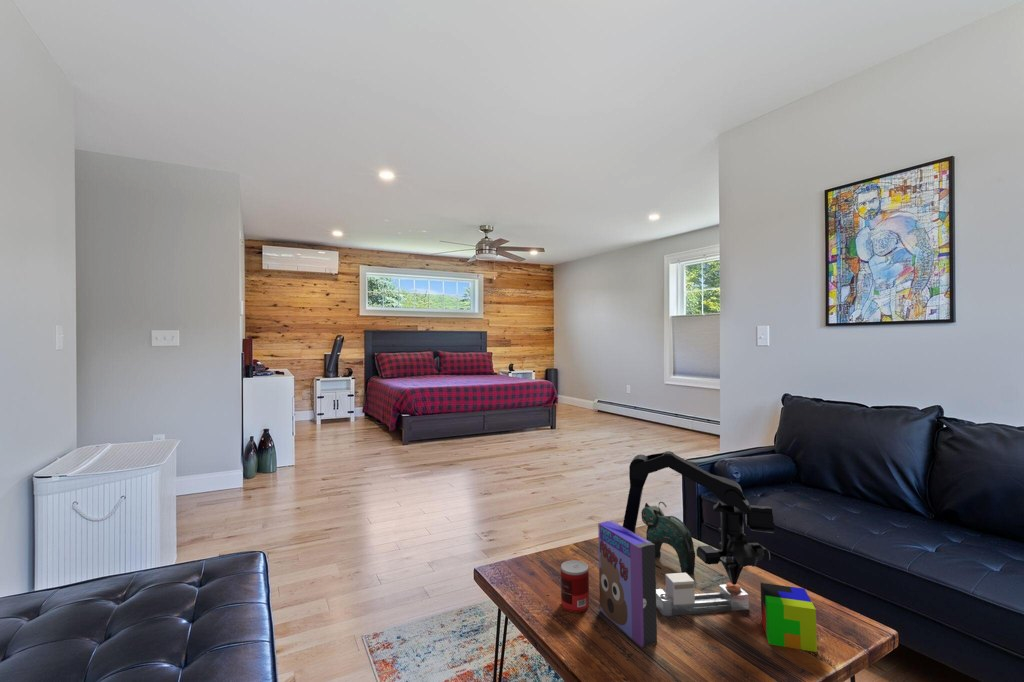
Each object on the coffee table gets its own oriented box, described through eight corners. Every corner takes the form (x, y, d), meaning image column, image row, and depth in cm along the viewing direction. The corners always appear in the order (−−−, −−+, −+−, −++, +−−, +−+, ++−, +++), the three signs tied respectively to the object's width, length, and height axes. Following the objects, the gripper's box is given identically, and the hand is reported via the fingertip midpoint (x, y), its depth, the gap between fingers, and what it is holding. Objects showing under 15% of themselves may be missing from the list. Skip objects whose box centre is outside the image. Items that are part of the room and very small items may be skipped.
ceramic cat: (640, 554, 162) (639, 496, 162) (654, 550, 165) (653, 493, 165) (686, 578, 144) (684, 513, 145) (700, 573, 147) (699, 510, 148)
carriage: (674, 605, 125) (673, 583, 125) (665, 595, 130) (665, 573, 130) (695, 604, 126) (694, 581, 126) (686, 594, 131) (685, 572, 131)
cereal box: (599, 610, 127) (598, 522, 128) (614, 606, 129) (612, 520, 130) (641, 648, 111) (639, 547, 112) (657, 642, 113) (654, 543, 114)
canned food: (592, 601, 132) (591, 562, 132) (584, 616, 125) (583, 575, 125) (566, 595, 135) (565, 557, 136) (557, 609, 128) (556, 569, 128)
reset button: (731, 606, 128) (731, 589, 128) (724, 599, 131) (723, 582, 131) (743, 605, 128) (743, 588, 128) (736, 598, 131) (735, 581, 132)
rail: (663, 615, 124) (662, 599, 124) (654, 603, 130) (653, 588, 130) (748, 609, 127) (748, 593, 127) (736, 597, 133) (735, 582, 133)
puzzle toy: (805, 628, 118) (804, 588, 118) (817, 652, 109) (815, 609, 109) (761, 621, 121) (760, 582, 122) (769, 644, 112) (768, 602, 112)
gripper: (716, 541, 121) (717, 601, 121) (782, 537, 123) (784, 596, 122) (694, 525, 132) (696, 580, 132) (756, 521, 134) (758, 576, 134)
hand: (733, 584), depth 130 cm, fingers closed
